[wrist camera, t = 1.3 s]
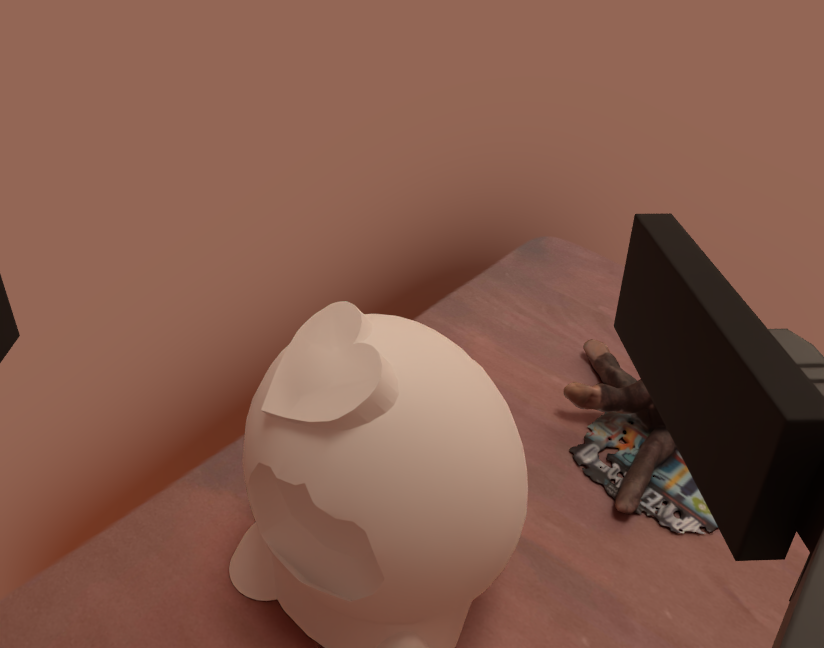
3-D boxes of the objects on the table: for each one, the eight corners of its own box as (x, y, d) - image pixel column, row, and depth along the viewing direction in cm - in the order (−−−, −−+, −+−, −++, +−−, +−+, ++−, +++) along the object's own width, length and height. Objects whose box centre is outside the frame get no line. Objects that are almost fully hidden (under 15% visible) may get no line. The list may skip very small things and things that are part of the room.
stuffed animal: (707, 340, 51) (825, 357, 39) (687, 483, 51) (799, 543, 39) (540, 320, 49) (611, 332, 38) (521, 468, 50) (585, 525, 38)
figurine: (352, 444, 40) (391, 194, 31) (533, 571, 35) (640, 319, 27) (183, 579, 32) (172, 296, 23) (387, 762, 28) (469, 497, 19)
